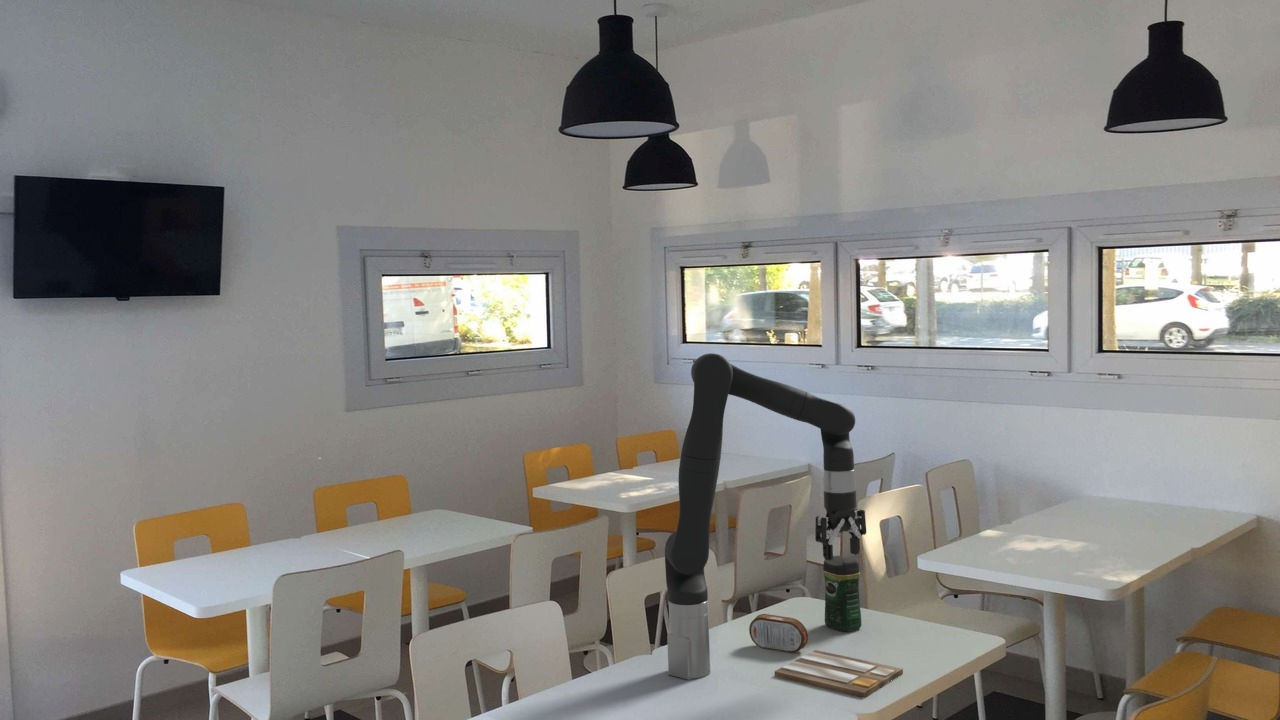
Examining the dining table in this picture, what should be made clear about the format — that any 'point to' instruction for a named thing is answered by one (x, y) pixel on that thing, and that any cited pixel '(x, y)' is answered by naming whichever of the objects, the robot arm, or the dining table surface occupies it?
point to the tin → (778, 633)
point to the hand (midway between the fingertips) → (841, 556)
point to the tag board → (839, 673)
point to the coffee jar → (842, 594)
